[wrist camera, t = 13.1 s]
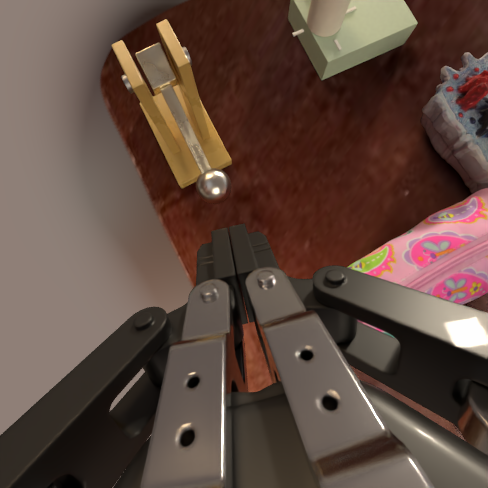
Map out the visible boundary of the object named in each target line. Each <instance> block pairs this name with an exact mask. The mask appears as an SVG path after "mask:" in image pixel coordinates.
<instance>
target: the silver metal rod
mask: <svg viewBox="0 0 488 488" xmlns="http://www.w3.org/2000/svg"><path fill="white" fill-rule="evenodd" d="M135 55H136V57H137V59H138V61H139V63H140V65H141V67H142V69H143V71H144V73H145V75H146V77H147V79H148V81H149V83H150V85H151V87H152V89H153V91H154V93H155V94H156V95H157V94H159V93H162V95H163V97H164V99H165V101H166V103H167V105H168V107H169V109H170V111H171V113H172V115H173V117H174V119H175V121H176V123H177V125H178V127H179V129H180V131H181V133H182V135H183V137H184V140H185V142H186V144H187V146H188V148H189V150H190V152H191V154H192V156H193V158H194V160H195V162H196V164H197V166H198V168H199V170H200V172H201V174H200V175H199V176H198V178H197V181H196V190H197V193H198V195H199V197H200V198H201V199H202V200H203V201H205V202H206V203H209V204H219V203H221V202H223V201H225V200H226V199H227V198H228V196H229V195H230V192H231V181H230V178H229V177H228V175H227V174H226V173H225V172H224V171H222V170H220V169H217V168H211V167H210V164H209V162H208V160H207V158H206V156H205V154H204V152H203V150H202V148H201V146H200V143H199V141H198V139H197V137H196V135H195V133H194V131H193V129H192V127H191V125H190V122H189V120H188V118H187V116H186V114H185V112H184V110H183V108H182V106H181V104H180V101H179V99H178V97H177V95H176V93H175V91H174V89H173V87H174V86H176V85H177V82H176V77H175V75H174V73H173V71H172V68H171V66H170V64H169V62H168V60H167V58H166V56H165V53H164V51H163V49H162V47H161V45H160V43H157V44H155V45H152V46H150V47H148V48H146V49H144V50H142V51H139V52H137V53H135Z"/></svg>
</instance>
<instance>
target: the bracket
mask: <svg viewBox="0 0 488 488" xmlns="http://www.w3.org/2000/svg"><path fill="white" fill-rule="evenodd" d="M156 26H157V29H158V32H159V34H160V37H161V40H162V42H163V45H164V48H165V50H166V53H167V56H168V59H169V61H170V64H171V67H172V69H173V72H174V75H175V77H176V80H177V83H178V85H177V86H175V87H173V89H174V91H175V93H176V95H177V97H178V99H179V101H180V104H181V106H182V108H183V110H184V112H185V114H186V116H187V118H188V120H189V122H190V125H191V127H192V129H193V131H194V133H195V135H196V137H197V139H198V141H199V143H200V146H201V148H202V150H203V152H204V154H205V156H206V158H207V160H208V162H209V164H210V167H211V168H217V169H220V170H221V169H223V168H225V167H227V166H229V165H231V164H232V161H231V158H230V156H229V155H228V153H227V151H226V149H225V147H224V145H223V143H222V141H221V139H220V137H219V135H218V133H217V132H216V130H215V128H214V126H213V124H212V122H211V120H210V118H209V116H208V114H207V112H206V110H205V108H204V107H203V105H202V103H201V101H200V98H199V95H198V91H197V88H196V84H195V80H194V77H193V73H192V70H191V65H192V61H191V58H190V55H189V53H188V51H187V49H186V48H185V47H183V48H182V47H181V45H180V43H179V42H178V40H177V38H176V36H175V34H174V32H173V30H172V28H171V26H170V24H169V22H168V21H167V19H166V20H164V21H162V22H159V23H157V24H156ZM112 48H113V50H114V52H115V54H116V56H117V58H118V60H119V62H120V64H121V66H122V68H123V70H124V73H125V75H123V76H121V77H122V80H123V82H124V84H125V85H126V87H127V89H128V90H129V92H130V93H133V92H135V94H136V95H137V97H138V99H139V100H140V102H141V103H140V106H141V108H142V110H143V112H144V114H145V116H146V118H147V120H148V122H149V124H150V127H151V129H152V131H153V133H154V135H155V137H156V139H157V141H158V143H159V145H160V147H161V149H162V151H163V153H164V155H165V157H166V159H167V161H168V163H169V165H170V168H171V170H172V172H173V174H174V176H175V178H176V180H177V182H178V184H179V186H180V187H181V188H184V187H186V186H188V185H190V184H192V183H194V182H196V181H197V178H198V176H199V175H200V174H201V172H200V170H199V168H198V166H197V164H196V162H195V160H194V158H193V156H192V154H191V152H190V150H189V148H188V146H187V144H186V142H185V140H184V137H183V135H182V133H181V131H180V129H179V127H178V125H177V123H176V121H175V119H174V117H173V115H172V113H171V111H170V109H169V107H168V105H167V103H166V101H165V99H164V97H163V95H162V93H160V94H158V95H156V96H154V97H153V96H152V94H151V93H150V91H149V89H148V87H147V85H146V83H145V81H144V80H143V78H142V76H141V74H140V72H139V70H138V68H137V66H136V65H135V63H134V61H133V59H132V57H131V55H130V53H129V52H128V50H127V48H126V46H125V44H124V42H123V41H122V40H121V41H119V42H116V43H114V44H112Z"/></svg>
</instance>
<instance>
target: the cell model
mask: <svg viewBox="0 0 488 488" xmlns="http://www.w3.org/2000/svg"><path fill="white" fill-rule="evenodd" d="M461 60H462V64H463V68H461V69H459V70H458V71H456V70H454V69H452V68H451V67H448V66H444V67H443V68H441V75H440V78H441V80H442V82H443V84H439V85H438V86H437V87H436V94H435V96H433V97H432V98H431V99H430V101H429V102H428V103H427V105H425V107H424V108H423V109H422V112H423V115H422V118H421V124H422V126H423V127H424V129H425V131H426V134H427V135H428V137H429V138H430V142H431V144H432V146H433V147H434V149H435V151H436V152H437V153H438V154H439V155H440V156H441V157H442V158H443V159H444V160H445V161H446V162H447V163H448V164H450V165H451V166H452V167H453V168H454V169H455V170H456V171H457V172H458V173H459V175H460V176H461V178H462V179H463V181H464V184H465V185H466V186H467V187H469V189H470V192H471V193H472V194H473V193H475V192H477V191H479V190H481V189H485V188H488V53H486V54H485V55H484V56H483V57H482V58H480V59H475V58H474V57H473V56H472V55H471V54H470V53H465V54H464V55H463V56H462V57H461Z"/></svg>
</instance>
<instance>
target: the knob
mask: <svg viewBox="0 0 488 488" xmlns="http://www.w3.org/2000/svg"><path fill="white" fill-rule="evenodd" d="M350 1H351V0H311V3H310V8H309V12H308V17H307V25H308V27H309V29H310V30H311V32H313V33H314V34H315V35H318V36H321V37H328V36H332V35H334V34H335V33H337V32H338V31H339V29H340V28H341V25H342V23H343V20H344V17H345V14H346V12H347V9H348V6H349V3H350Z"/></svg>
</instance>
